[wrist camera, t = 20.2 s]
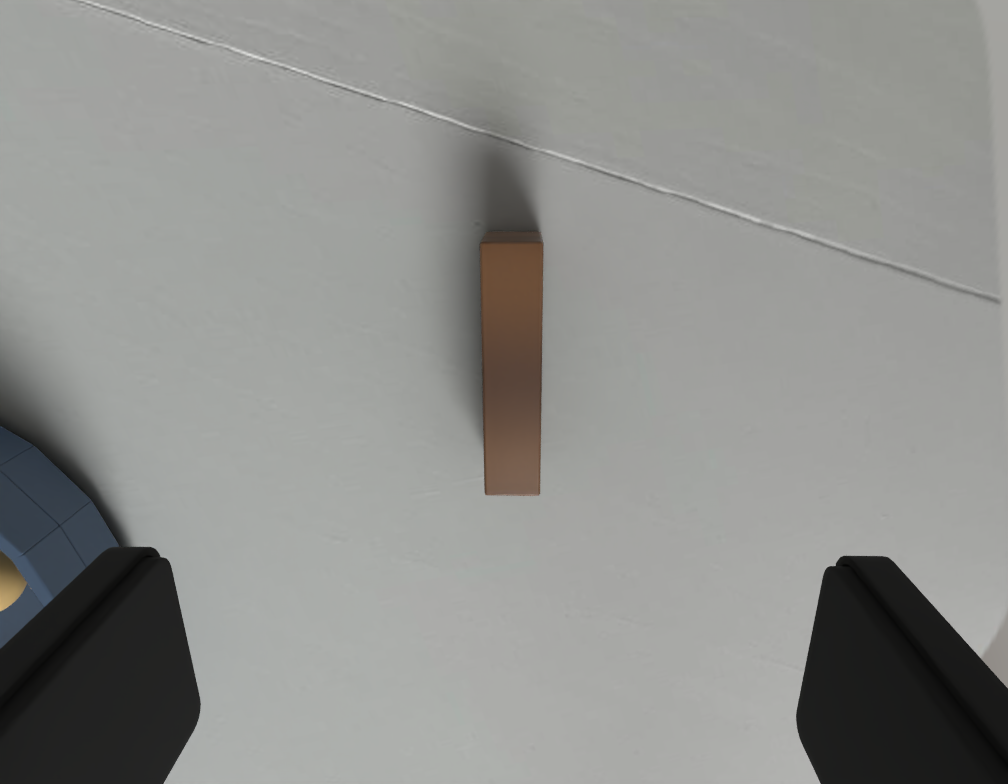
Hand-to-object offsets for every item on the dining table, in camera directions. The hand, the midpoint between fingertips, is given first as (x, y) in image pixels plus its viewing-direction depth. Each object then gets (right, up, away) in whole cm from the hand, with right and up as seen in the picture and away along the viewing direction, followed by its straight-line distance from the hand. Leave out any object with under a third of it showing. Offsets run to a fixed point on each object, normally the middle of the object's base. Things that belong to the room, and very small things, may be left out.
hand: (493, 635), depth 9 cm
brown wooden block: (+1, +5, +15) cm, 16 cm away
